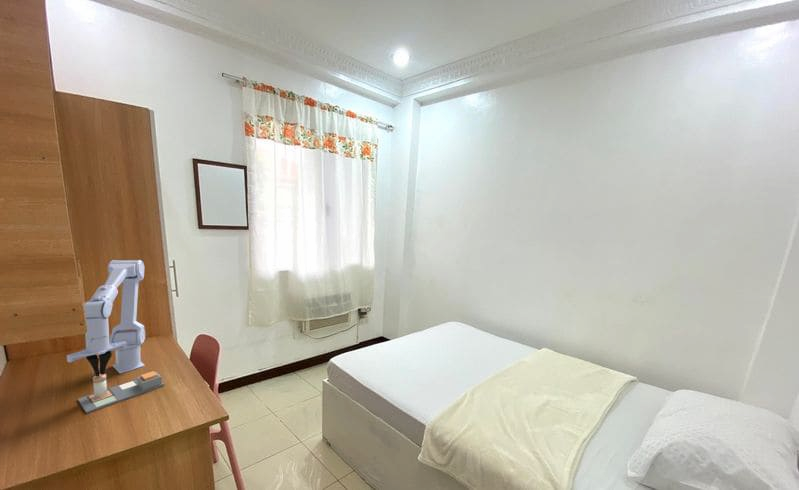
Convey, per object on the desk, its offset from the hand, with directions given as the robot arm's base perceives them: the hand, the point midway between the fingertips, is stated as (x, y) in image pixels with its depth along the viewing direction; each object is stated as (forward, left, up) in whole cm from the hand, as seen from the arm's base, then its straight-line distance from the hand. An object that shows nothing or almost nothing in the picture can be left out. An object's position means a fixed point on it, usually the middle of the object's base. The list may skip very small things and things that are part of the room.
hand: (99, 374), depth 107 cm
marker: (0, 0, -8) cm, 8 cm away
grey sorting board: (+2, +6, -8) cm, 10 cm away
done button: (+4, +12, -6) cm, 15 cm away
